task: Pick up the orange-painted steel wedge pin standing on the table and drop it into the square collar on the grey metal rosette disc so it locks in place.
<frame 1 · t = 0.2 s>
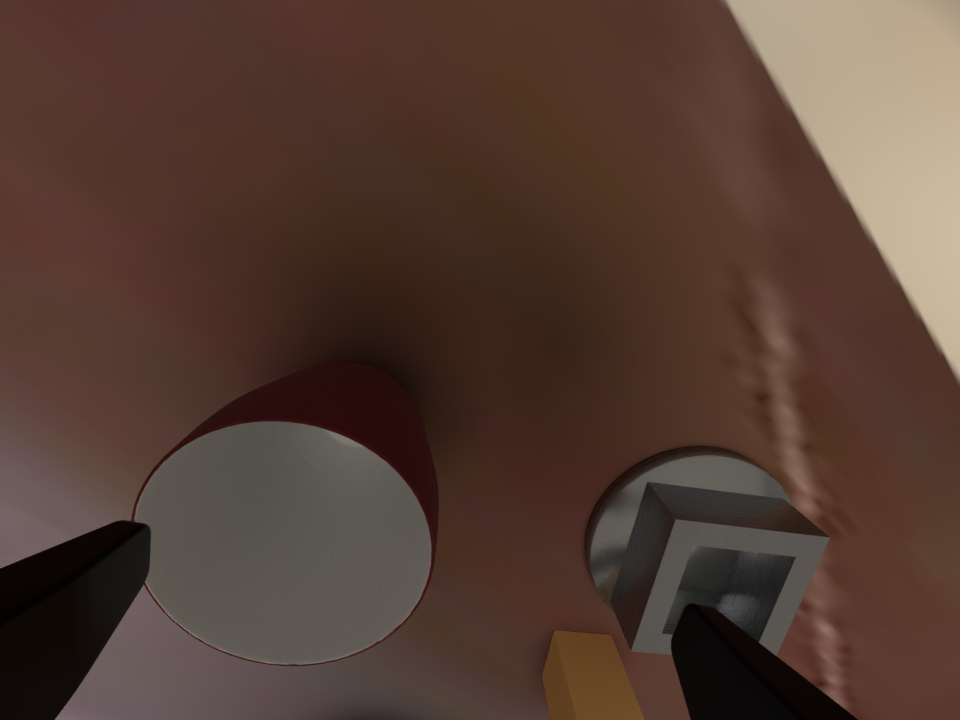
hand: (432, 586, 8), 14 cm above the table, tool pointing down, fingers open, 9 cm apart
wedge pin: (576, 655, 27), on the table
mug: (341, 423, 22), on the table
rosette: (683, 536, 25), on the table
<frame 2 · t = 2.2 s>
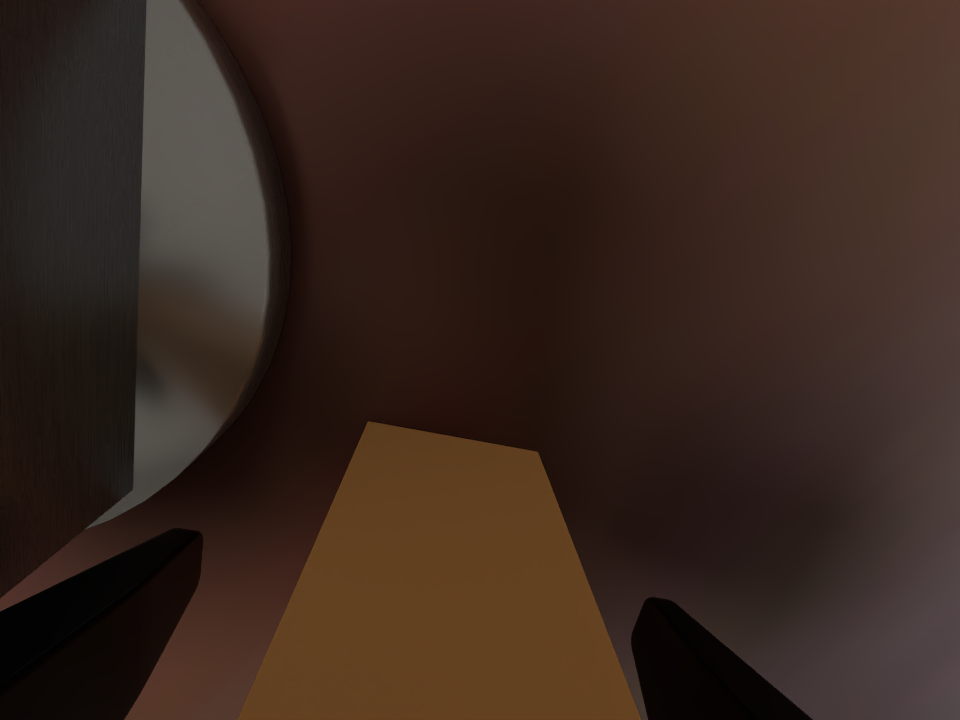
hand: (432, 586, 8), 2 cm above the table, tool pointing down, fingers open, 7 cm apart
wedge pin: (437, 510, 10), on the table
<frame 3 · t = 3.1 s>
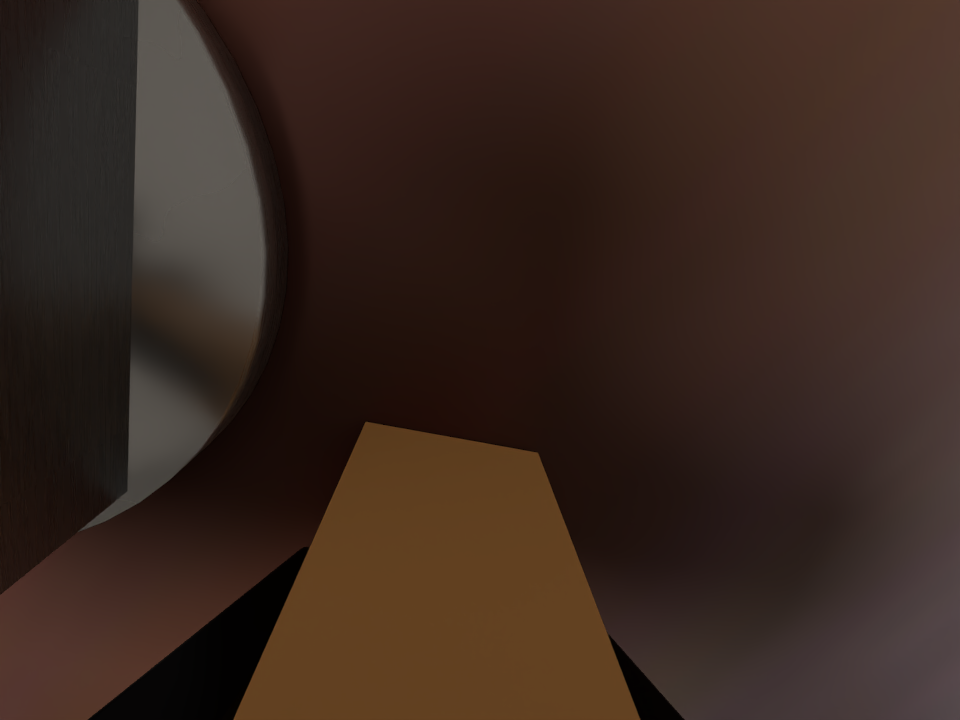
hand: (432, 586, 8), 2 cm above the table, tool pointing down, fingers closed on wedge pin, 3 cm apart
wedge pin: (436, 512, 9), on the table, touching gripper
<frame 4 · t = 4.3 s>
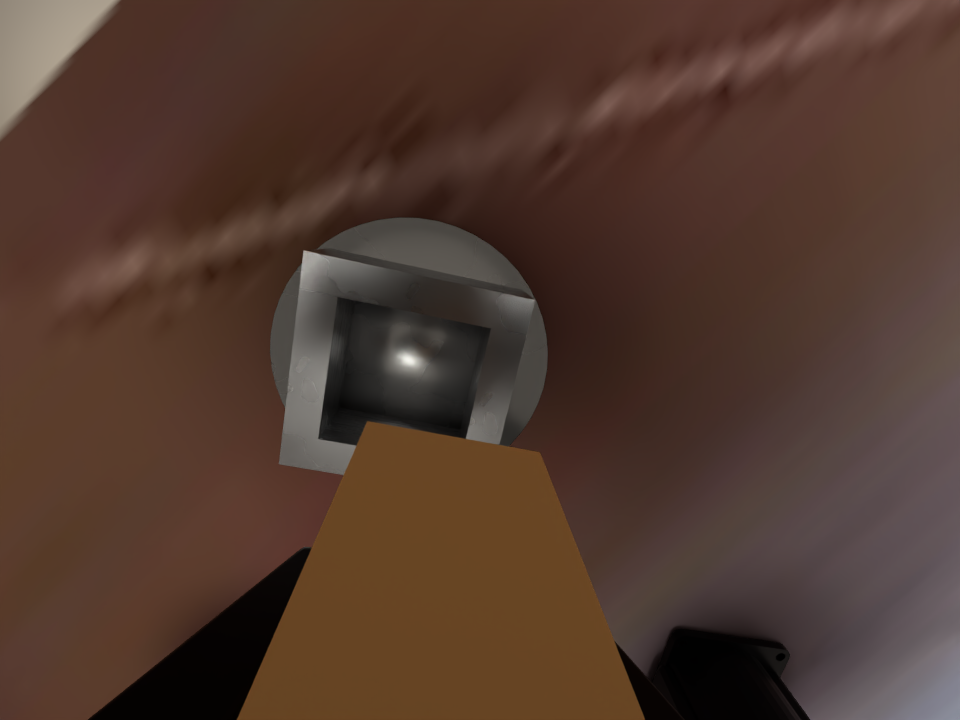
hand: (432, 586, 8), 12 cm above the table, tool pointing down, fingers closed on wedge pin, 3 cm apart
wedge pin: (438, 512, 9), point 10 cm above the table, touching gripper
rosette: (414, 353, 19), on the table
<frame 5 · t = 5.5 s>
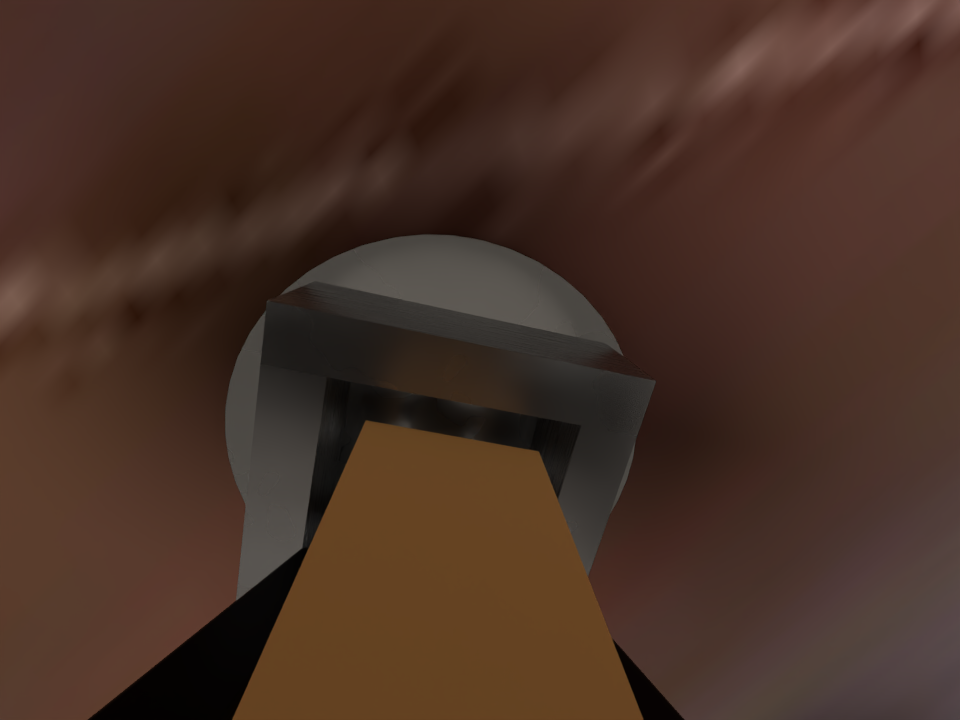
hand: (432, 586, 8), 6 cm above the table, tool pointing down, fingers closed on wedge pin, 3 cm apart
wedge pin: (436, 511, 9), point 4 cm above the table, touching gripper
rosette: (438, 426, 13), on the table
when the fingers open (5 cm above the table, at t = 6.1 s): wedge pin drops 2 cm, resting on rosette.
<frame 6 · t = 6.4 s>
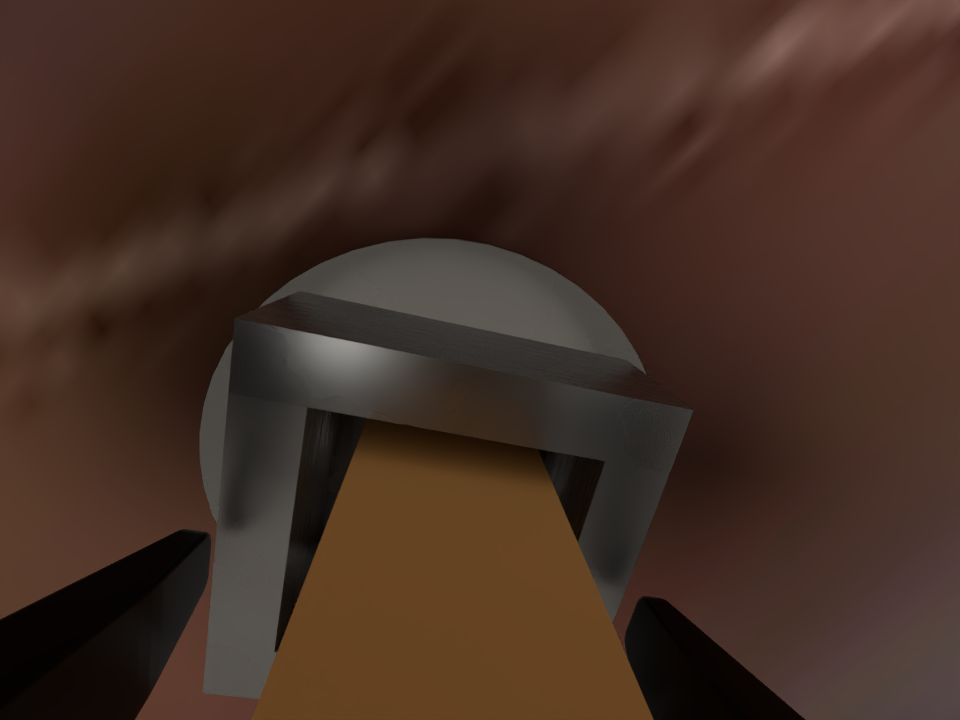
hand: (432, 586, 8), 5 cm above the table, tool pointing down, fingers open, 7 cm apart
wedge pin: (438, 474, 11), point 1 cm above the table, touching rosette
rosette: (438, 450, 12), on the table
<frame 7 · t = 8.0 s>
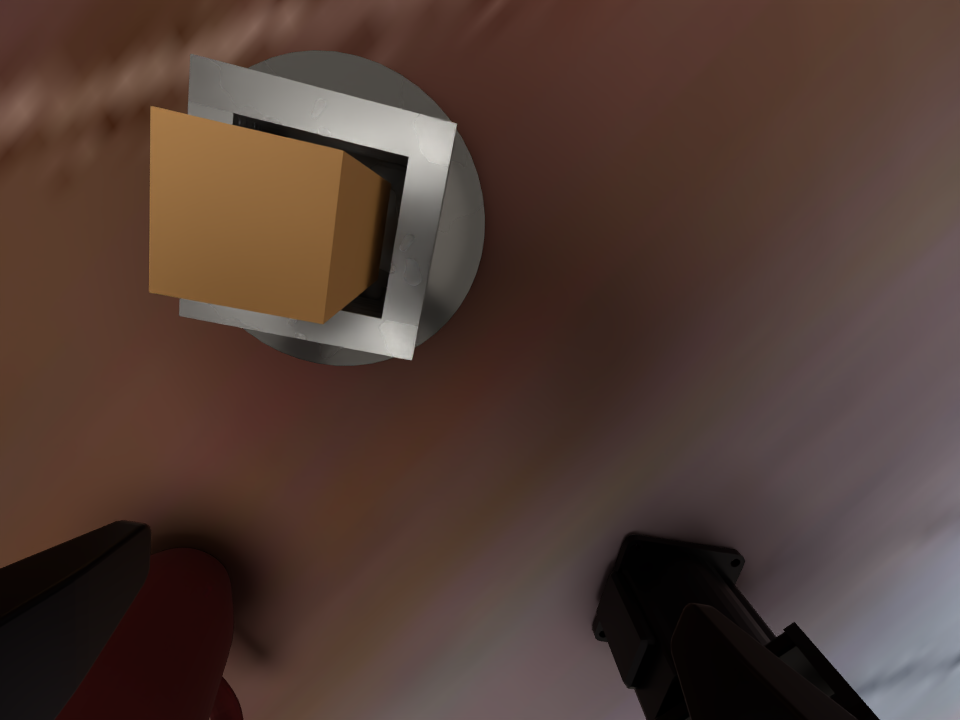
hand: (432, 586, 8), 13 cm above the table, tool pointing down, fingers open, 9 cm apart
wedge pin: (336, 223, 17), point 1 cm above the table, touching rosette
mug: (209, 593, 23), on the table
rosette: (342, 223, 18), on the table
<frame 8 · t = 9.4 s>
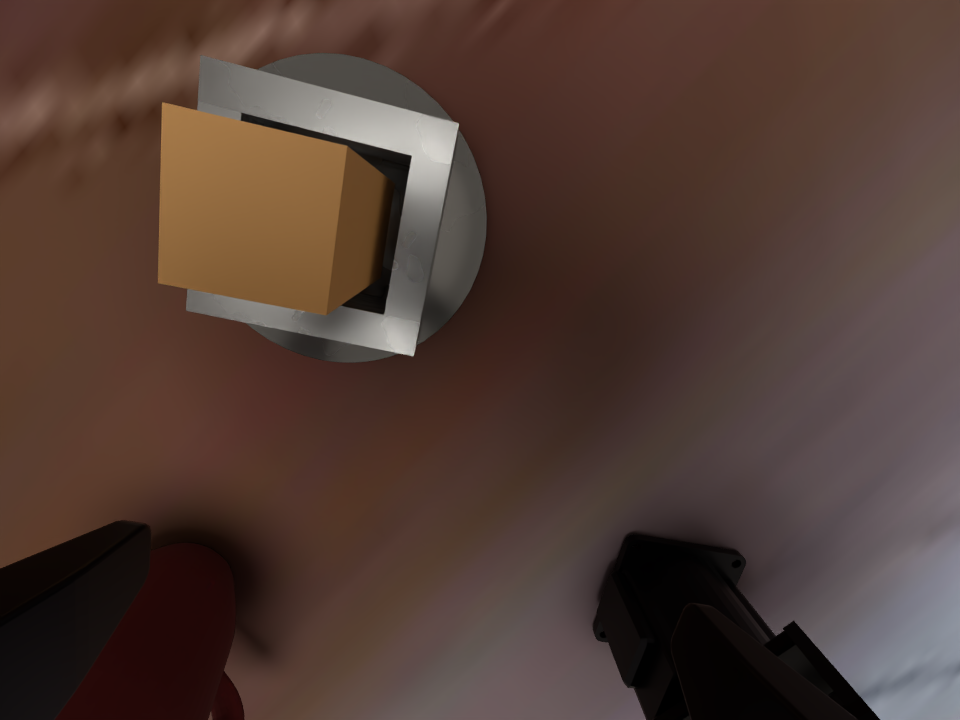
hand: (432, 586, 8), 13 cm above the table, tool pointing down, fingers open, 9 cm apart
wedge pin: (341, 221, 17), point 1 cm above the table, touching rosette
mug: (212, 588, 23), on the table
rosette: (347, 222, 18), on the table
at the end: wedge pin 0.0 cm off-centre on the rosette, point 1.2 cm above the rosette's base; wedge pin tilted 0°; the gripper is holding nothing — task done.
